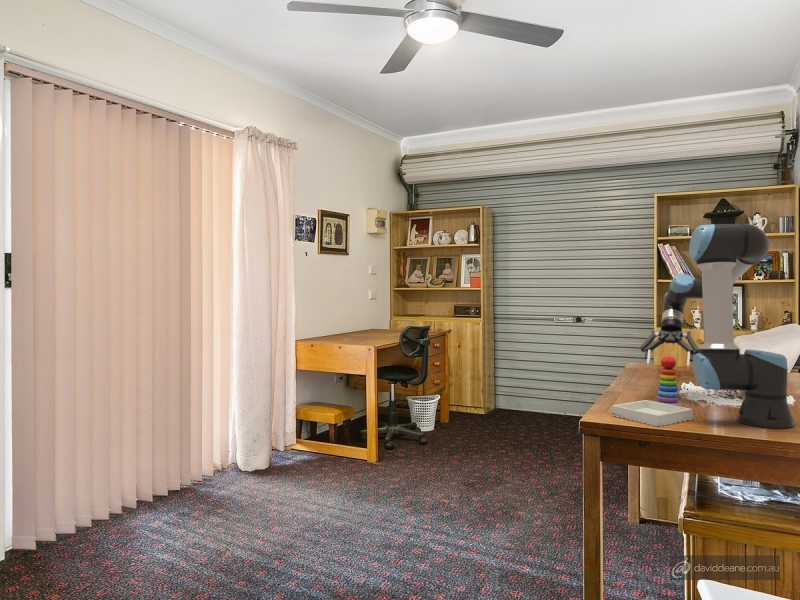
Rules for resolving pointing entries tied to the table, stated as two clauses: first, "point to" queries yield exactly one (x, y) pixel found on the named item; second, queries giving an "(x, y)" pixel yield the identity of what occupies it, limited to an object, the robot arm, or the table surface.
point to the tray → (652, 412)
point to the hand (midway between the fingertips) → (667, 366)
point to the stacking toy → (668, 382)
